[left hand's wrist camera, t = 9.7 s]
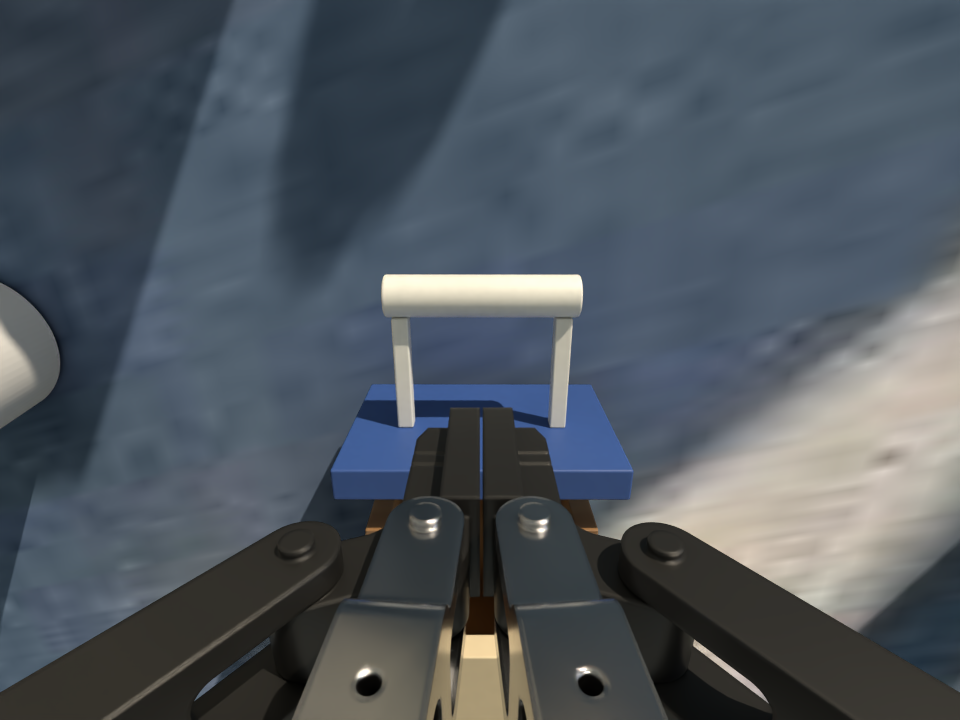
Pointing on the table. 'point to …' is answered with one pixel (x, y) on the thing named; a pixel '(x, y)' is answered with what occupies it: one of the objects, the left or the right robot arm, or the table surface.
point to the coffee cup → (24, 356)
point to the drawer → (481, 405)
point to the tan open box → (479, 681)
